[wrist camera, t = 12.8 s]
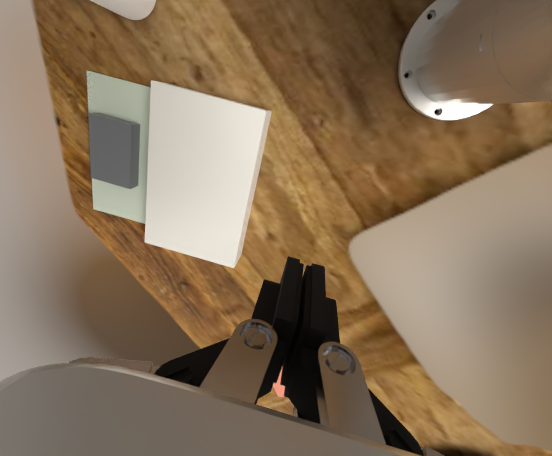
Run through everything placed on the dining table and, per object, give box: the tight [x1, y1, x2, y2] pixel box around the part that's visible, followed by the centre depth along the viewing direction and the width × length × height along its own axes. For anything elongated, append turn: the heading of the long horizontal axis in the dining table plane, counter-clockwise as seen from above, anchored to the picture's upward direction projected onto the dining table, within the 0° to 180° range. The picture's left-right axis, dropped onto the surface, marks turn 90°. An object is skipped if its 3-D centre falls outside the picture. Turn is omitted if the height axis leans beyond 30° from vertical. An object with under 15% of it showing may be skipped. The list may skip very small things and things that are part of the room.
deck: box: [145, 80, 272, 268], centre depth 38 cm, size 22×14×4 cm, turn 166°
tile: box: [88, 113, 140, 189], centre depth 38 cm, size 9×6×2 cm, turn 166°
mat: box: [86, 70, 151, 224], centre depth 40 cm, size 20×10×1 cm, turn 166°
